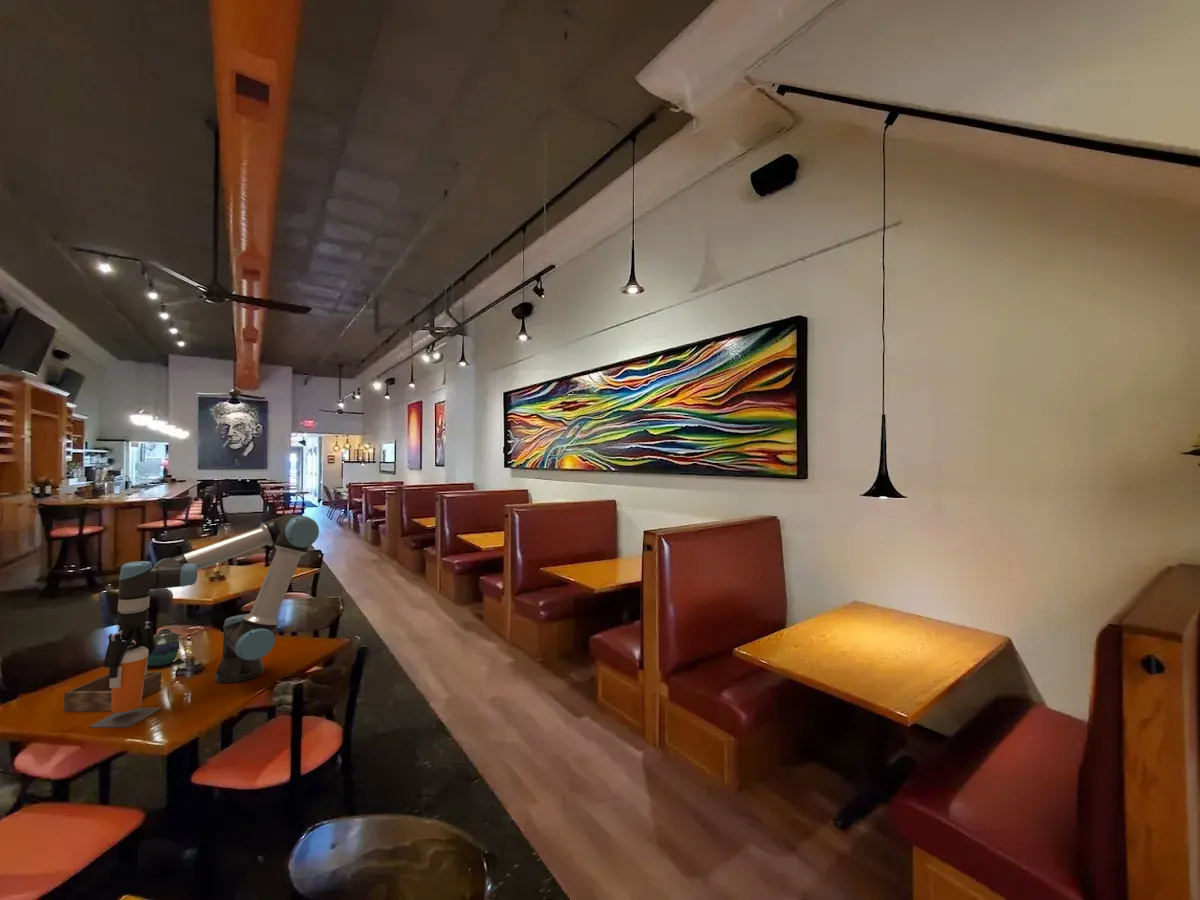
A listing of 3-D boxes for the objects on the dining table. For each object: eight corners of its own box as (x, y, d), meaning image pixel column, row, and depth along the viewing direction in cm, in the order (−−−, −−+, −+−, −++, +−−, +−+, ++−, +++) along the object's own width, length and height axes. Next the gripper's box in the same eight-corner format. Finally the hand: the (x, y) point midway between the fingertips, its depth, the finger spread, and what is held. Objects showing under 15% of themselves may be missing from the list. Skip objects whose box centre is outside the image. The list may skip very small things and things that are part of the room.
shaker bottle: (121, 715, 154) (125, 650, 155) (99, 712, 156) (103, 648, 157) (152, 703, 163) (156, 641, 164) (131, 699, 165) (135, 638, 166)
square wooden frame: (160, 688, 181) (161, 671, 181) (118, 711, 164) (119, 692, 164) (111, 688, 180) (112, 671, 180) (63, 711, 163) (64, 692, 163)
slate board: (161, 708, 166) (161, 707, 166) (129, 727, 154) (129, 726, 154) (123, 708, 165) (123, 707, 165) (88, 727, 153) (89, 726, 153)
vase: (140, 661, 205) (142, 628, 205) (188, 653, 214) (190, 622, 214) (134, 674, 192) (136, 639, 193) (185, 665, 201) (187, 632, 202)
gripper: (149, 601, 171) (145, 667, 170) (88, 620, 150) (83, 696, 149) (172, 601, 172) (167, 667, 171) (115, 620, 150) (109, 696, 149)
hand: (128, 680), depth 160 cm, fingers closed on shaker bottle, 9 cm apart
